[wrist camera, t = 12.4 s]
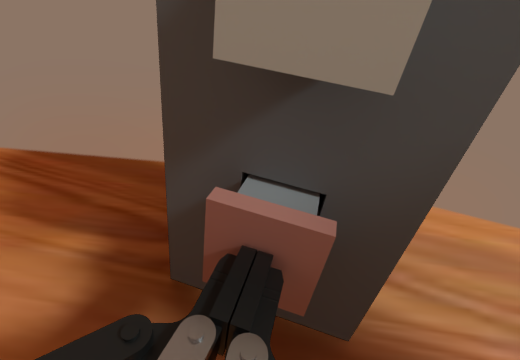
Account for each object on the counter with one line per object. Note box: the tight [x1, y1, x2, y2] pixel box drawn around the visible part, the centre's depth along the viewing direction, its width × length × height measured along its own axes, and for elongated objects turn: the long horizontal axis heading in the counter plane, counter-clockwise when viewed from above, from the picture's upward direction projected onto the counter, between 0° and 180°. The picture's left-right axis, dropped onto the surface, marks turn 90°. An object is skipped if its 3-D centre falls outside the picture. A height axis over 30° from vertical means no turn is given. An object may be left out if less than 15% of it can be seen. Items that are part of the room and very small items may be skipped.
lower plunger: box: [202, 174, 337, 317], centre depth 16 cm, size 9×6×6 cm, turn 164°
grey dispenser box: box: [156, 0, 520, 341], centre depth 19 cm, size 12×14×24 cm
